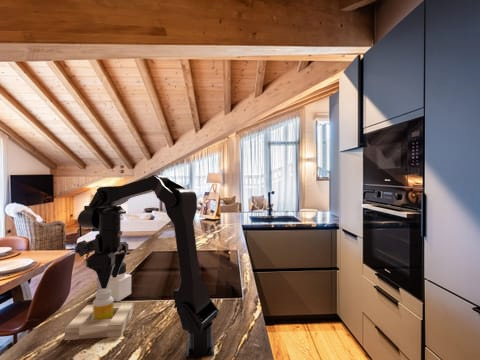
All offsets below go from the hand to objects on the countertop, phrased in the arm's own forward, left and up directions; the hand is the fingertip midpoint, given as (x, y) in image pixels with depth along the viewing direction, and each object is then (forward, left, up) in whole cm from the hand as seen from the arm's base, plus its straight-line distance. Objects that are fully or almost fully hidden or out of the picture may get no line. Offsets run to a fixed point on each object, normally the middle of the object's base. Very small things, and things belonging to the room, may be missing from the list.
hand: (109, 282), depth 78 cm
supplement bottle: (0, +2, -12) cm, 12 cm away
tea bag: (+25, +9, -12) cm, 30 cm away
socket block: (0, +2, -12) cm, 12 cm away
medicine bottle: (+20, +4, -12) cm, 23 cm away
